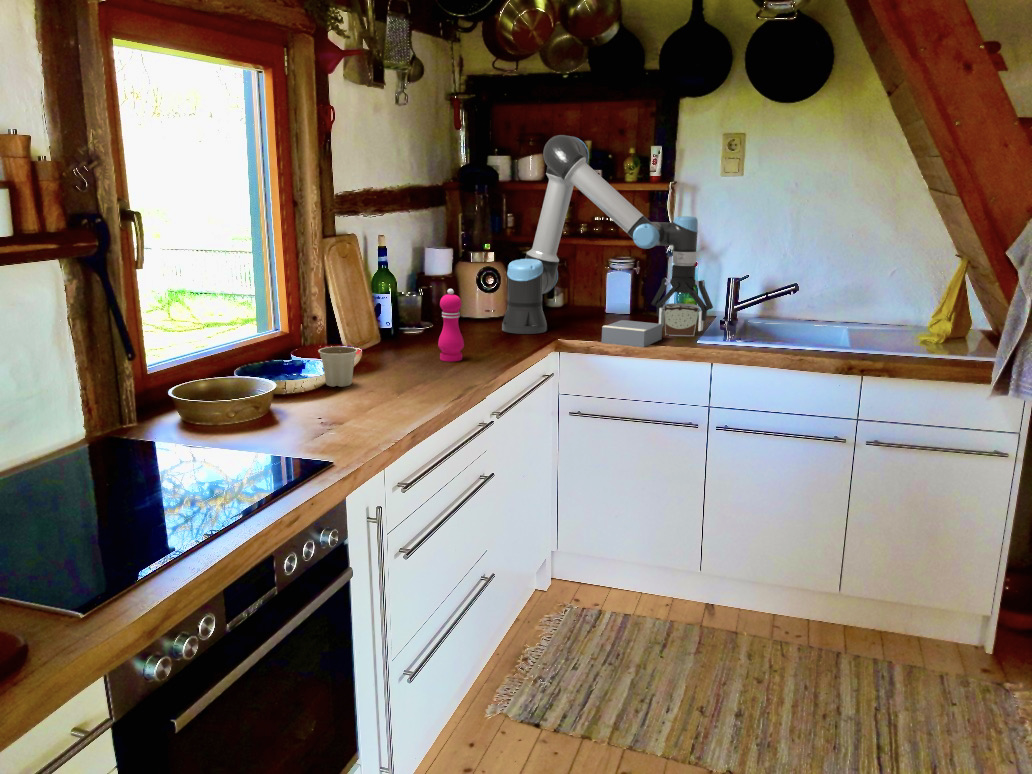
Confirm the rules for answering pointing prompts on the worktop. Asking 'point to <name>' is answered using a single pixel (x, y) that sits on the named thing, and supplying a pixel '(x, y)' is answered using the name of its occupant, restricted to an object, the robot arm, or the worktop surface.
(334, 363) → the flower pot
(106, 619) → the worktop surface
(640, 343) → the block
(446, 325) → the pepper mill
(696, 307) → the food container
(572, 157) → the robot arm
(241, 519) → the worktop surface
